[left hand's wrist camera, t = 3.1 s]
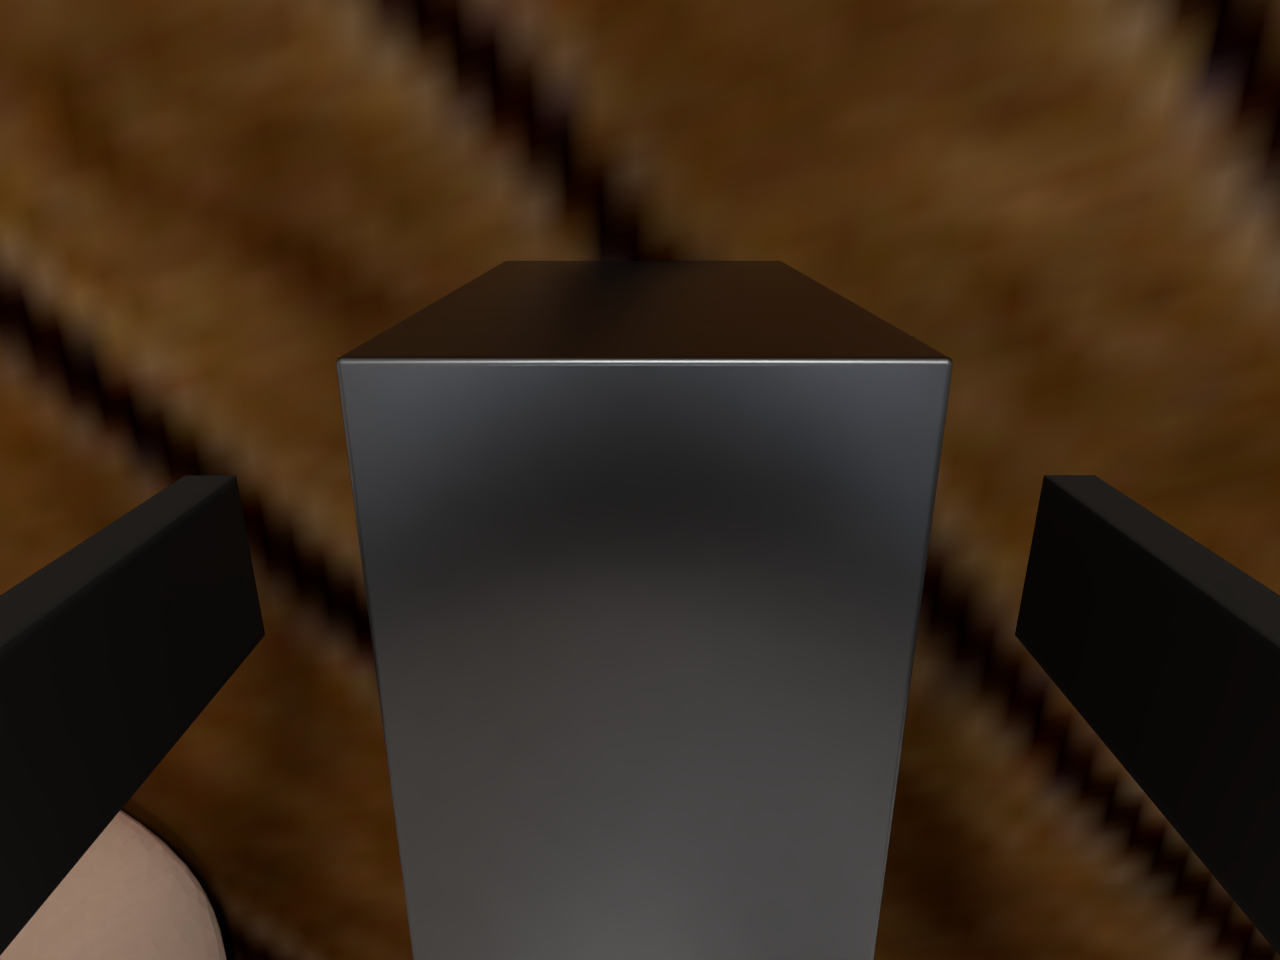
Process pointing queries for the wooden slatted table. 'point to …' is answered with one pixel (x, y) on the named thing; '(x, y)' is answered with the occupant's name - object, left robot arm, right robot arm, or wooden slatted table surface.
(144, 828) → the anatomical model
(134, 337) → the wooden slatted table surface
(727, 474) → the bar
